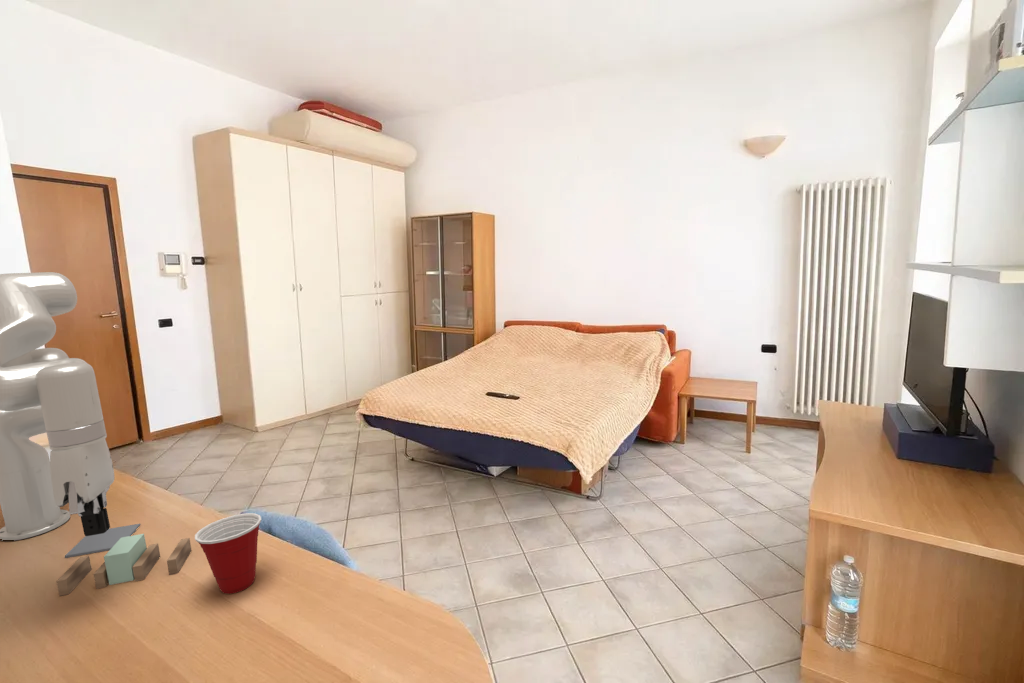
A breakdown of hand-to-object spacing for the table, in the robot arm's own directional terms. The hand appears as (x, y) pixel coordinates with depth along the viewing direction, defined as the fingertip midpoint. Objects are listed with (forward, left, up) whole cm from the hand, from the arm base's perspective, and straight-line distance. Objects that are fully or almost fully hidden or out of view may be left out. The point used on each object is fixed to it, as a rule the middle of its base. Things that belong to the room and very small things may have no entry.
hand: (97, 532), depth 88 cm
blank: (-8, 0, -13) cm, 16 cm away
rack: (-8, 0, -13) cm, 16 cm away
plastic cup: (+4, +22, -13) cm, 26 cm away
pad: (-24, -11, -13) cm, 30 cm away
